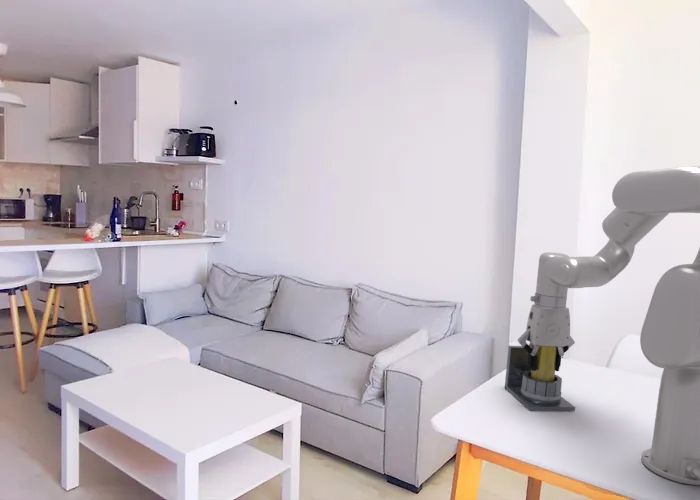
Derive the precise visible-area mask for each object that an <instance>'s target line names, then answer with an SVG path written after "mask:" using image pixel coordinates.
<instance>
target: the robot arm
mask: <svg viewBox="0 0 700 500" xmlns="http://www.w3.org/2000/svg"><path fill="white" fill-rule="evenodd" d="M611 194H612V195H611V197H612V202H613V206H615V208H613V210H612V211H611V212H610V213H609V214H607V216H606V217H605V218H604V219H603V221H602V223H601V226H602V230H603V233H604V234H605V236H606V237H607V238H608V241H607V243H606V244H605V245H604V246H603V247H602V248H601V249H600V250H599V251H598V252H597V253H596V254H594V255H593V256H591V255H590V256H569V255H568V254H564V253H559V252H543V253H541V254H540V255H539V258H538V268H537V276H536V277H537V278H536V287H535V293H534V295H531V296H530V299H529V300H530V301H531V302H533V303H534V304H532V305H531V307H530V310H529V314H528V319H527V323H526V328H525V331H524V332H523V333H522V334H521V335H520V336H519V338H518V339H517V342H518V343H519V344H520V346H523V348H524V349H525V350H526V351H527V352H528V361H527V365H528V368H530V369H531V370H532V371H536V366H537V356H536V352H537V350H538V348H539V346H545V347H550V346H552V347H557V350H556V363H555V372H559V371H560V368H561V364H562V363H561V362H562V357H564V355H565V353H566V352H567V351H568V350H569V349H570V348H571V347H572V346H574V345H575V343H576V342H575V340H574V338H573V337H572V335H571V316H570V308H569V307H567V300H568V299H567V298H568V290H569V289H583V288H584V289H585V288H598V287H602V286H605V285H607V284H609V283H610V282H611V281H613V279H615V278H616V277H618V276H619V274H621V272H623V271H624V269H626V268H627V266H628V265H629V264H630V262H631V261H632V258H633V255H634V253H635V248H636V245H638V243H639V242H640V241H642V239H643V238H645V237H646V236H647V234H649V233H651V231H652V230H653V229H654V228H655V227H656V226H658V224H660V222H661V221H663V220H665V218H666V217H667V216H668V215H669V214H677V213H678V214H679V213H680V214H684V213H685V214H687V213H688V214H689V213H690V214H700V166H696V165H693V166H691V165H688V166H678V167H677V166H676V167H668V168H660V169H652V170H651V169H650V170H641V171H633V172H630V173H627V174H625V175H624V176H622V177H621V178H620V179H619V180H618V181H617V182H616V183H615V184H614V187H613V189H612V193H611ZM642 324H643V325H642V327H641V330H640V331H641V332H640V335H639V336H640V337H639V342H640V349H641V352H642V354H643V355H644V358H645V359H646V360H647V361H648V362H649V363H651V364H652V365H653V366H655V367H657V368H661V369H663V370H662V373H661V377H660V383H659V388H658V396H657V403H656V411H655V419H654V426H653V434H652V442H651V448H647V449H645V450H643V451H642V453H641V458H640V459H641V461H642V464H644V466H645V467H647V469H649V470H650V471H651V472H653V473H655V474H657V475H659V476H661V477H663V478H666V479H668V480H670V481H674V482H676V483H681V484H685V485H690V486H691V485H692V486H700V247H699V248H698V251H697V254H696V256H695V258H694V261H693V262H692V263H686V264H685V263H684V264H679V265H675V266H673V267H671V268H670V269H668V270H666V271H665V273H663V274H662V275H661V277H660V278H659V279H658V281H657V283H656V284H655V287H654V290H653V293H652V297H651V299H650V301H649V306H648V309H647V311H646V315H645V318H644V321H643V323H642ZM527 341H528V342H529V344H528V343H527Z"/></svg>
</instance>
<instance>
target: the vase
mask: <svg viewBox="0 0 700 500" xmlns="http://www.w3.org/2000/svg"><path fill="white" fill-rule="evenodd" d="M556 350H557V347H552V346H550V347H545V346H539V348H538V350H537V352H536V356H537V366H536V371H532V370H531V377H530V378H532V379H535V380H538V381H543V382H554V379H555V375H556V371H555V363H556Z"/></svg>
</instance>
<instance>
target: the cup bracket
mask: <svg viewBox="0 0 700 500" xmlns="http://www.w3.org/2000/svg"><path fill="white" fill-rule="evenodd" d="M507 350H508V351H507V359H506V368H505V369H506V370H505V371H506V372H505V381H504V389H505V390H506V391H508V393H509V394H511V395H512V396H513V397H514V398H515V400H517V401H518V402H519V403H520V404H522V405H523V407H525V408H526V409H527V410H528V411H529V412H575V410H576V406H574V405H573V404H572V403H570V401H568V400H567V399H565V398H564V397H563V396H562V383H563V381H562V380H563V378H562V377H560V376H559V375H558V374H555V379H554V382H543V381H538V380H535V379H532V378H530V377H531V369H530V368H528V365H527V361H528V352H527V351H526V350H525V349H524V348H523V346H522V345H508V348H507Z"/></svg>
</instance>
